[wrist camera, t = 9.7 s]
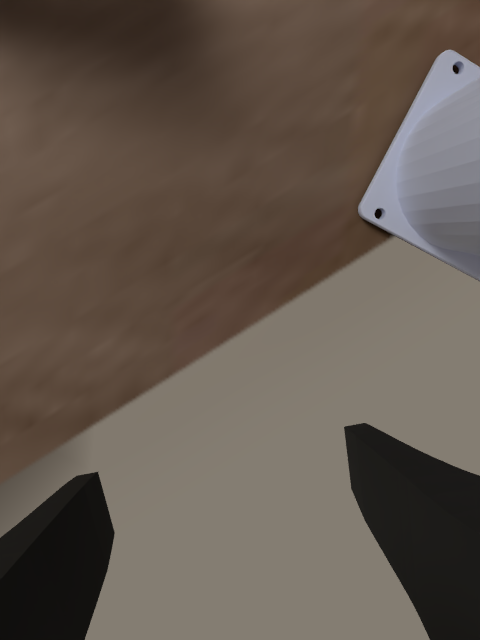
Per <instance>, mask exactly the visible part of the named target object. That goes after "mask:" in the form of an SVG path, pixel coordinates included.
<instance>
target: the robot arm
mask: <svg viewBox="0 0 480 640" xmlns="http://www.w3.org/2000/svg"><path fill="white" fill-rule="evenodd" d="M453 65H456V66H457V67H458V69H459V72H458V74H455V73H454V72H453ZM376 209H380V210H381V211H382V216H381V217H380V219H377V218H376V217H375V215H374V213H375V211H376ZM358 213H359V215H360V217H362V218H363V219H364V220H366V221H368V222H370V223H372V224H374V225H376V226H377V227H379V228H381V229H383V230H385V231H387V232H389V233H391V234H392V235H394V236H396V237H398V238H400V239H402V240H404V241H405V242H407V243H409V244H411V245H413V246H415V247H417V248H419V249H420V250H422V251H424V252H426V253H428V254H430V255H432V256H433V257H435V258H437V259H439V260H441V261H443V262H445V263H446V264H448V265H450V266H452V267H454V268H456V269H458V270H460V271H461V272H463V273H465V274H467V275H469V276H471V277H473V278H475V279H476V280H478V281H480V67H479V66H477V65H475V64H474V63H472V62H471V61H469V60H468V59H466V58H464V57H463V56H461V55H460V54H458V53H456V52H455V51H452V50H446V51H444V52H443V53H441V54H440V55H439V56H438V57H437V58H436V60H435V62H434V64H433V65H432V67H431V69H430V71H429V73H428V75H427V77H426V79H425V81H424V83H423V84H422V86H421V88H420V90H419V92H418V94H417V96H416V98H415V100H414V102H413V103H412V105H411V107H410V109H409V111H408V113H407V115H406V117H405V119H404V121H403V122H402V124H401V126H400V128H399V130H398V132H397V134H396V136H395V138H394V140H393V141H392V143H391V145H390V147H389V149H388V151H387V153H386V155H385V157H384V159H383V160H382V162H381V164H380V166H379V168H378V170H377V172H376V174H375V176H374V178H373V179H372V181H371V183H370V185H369V187H368V189H367V191H366V193H365V195H364V197H363V198H362V200H361V202H360V204H359V207H358ZM344 429H345V438H346V446H347V454H348V463H349V471H350V480H351V489H352V491H353V493H354V496H355V498H356V501H357V503H358V505H359V508H360V510H361V512H362V515H363V517H364V519H365V521H366V523H367V525H368V527H369V528H370V530H371V532H372V534H373V535H374V537H375V539H376V541H377V542H378V544H379V546H380V548H381V549H382V551H383V553H384V554H385V556H386V558H387V560H388V561H389V563H390V565H391V566H392V568H393V570H394V572H395V573H396V575H397V577H398V578H399V580H400V582H401V584H402V585H403V587H404V589H405V590H406V592H407V594H408V596H409V598H410V600H411V601H412V603H413V605H414V607H415V609H416V611H417V613H418V615H419V617H420V619H421V621H422V623H423V625H424V627H425V630H426V632H427V634H428V636H429V638H430V640H480V476H479V475H476V474H473V473H470V472H467V471H464V470H462V469H459V468H457V467H455V466H452V465H450V464H447V463H445V462H443V461H441V460H438V459H436V458H434V457H431V456H429V455H427V454H425V453H423V452H421V451H419V450H417V449H415V448H413V447H411V446H409V445H407V444H405V443H403V442H401V441H399V440H397V439H395V438H393V437H392V436H390V435H388V434H386V433H384V432H382V431H380V430H378V429H376V428H374V427H372V426H370V425H368V424H366V423H362V424H356V425H352V426H346V427H344ZM113 539H114V529H113V526H112V522H111V519H110V515H109V511H108V507H107V504H106V500H105V496H104V493H103V489H102V485H101V482H100V478H99V475H98V472H95V473H90V474H84V475H79V476H76V477H75V478H73V479H72V480H70V481H69V482H67V483H66V484H65V485H64V486H62V487H61V488H60V489H59V490H58V491H56V492H55V493H54V494H53V495H52V496H50V497H49V498H48V499H47V500H46V501H45V502H43V503H42V504H41V505H40V506H39V507H37V508H36V509H35V510H34V511H33V512H32V513H30V514H29V515H28V516H27V517H26V518H24V519H23V520H22V521H21V522H20V523H18V524H17V525H16V526H15V527H13V528H12V529H11V530H10V531H8V532H7V533H6V534H5V535H3V536H2V537H1V538H0V640H85V636H86V634H87V630H88V628H89V625H90V621H91V618H92V616H93V613H94V609H95V607H96V604H97V601H98V598H99V594H100V591H101V588H102V585H103V582H104V579H105V576H106V573H107V569H108V565H109V559H110V555H111V550H112V544H113Z"/></svg>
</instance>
